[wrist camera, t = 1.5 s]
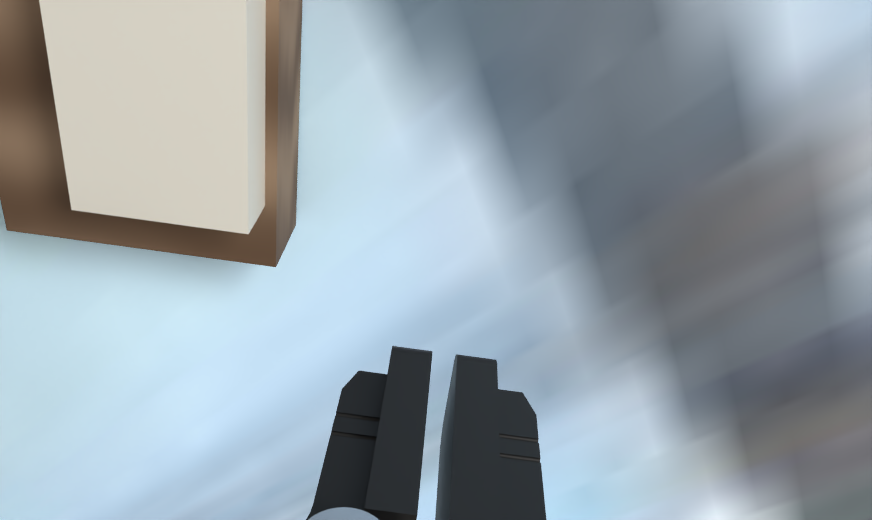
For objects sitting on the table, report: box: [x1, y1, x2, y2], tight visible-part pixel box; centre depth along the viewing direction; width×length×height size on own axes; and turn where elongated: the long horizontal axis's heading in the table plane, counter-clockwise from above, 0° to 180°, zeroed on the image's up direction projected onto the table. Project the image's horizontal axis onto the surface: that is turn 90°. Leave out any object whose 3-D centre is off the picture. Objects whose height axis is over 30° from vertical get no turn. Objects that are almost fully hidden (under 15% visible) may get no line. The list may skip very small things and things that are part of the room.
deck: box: [0, 0, 302, 267], centre depth 29 cm, size 16×12×4 cm
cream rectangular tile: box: [39, 0, 266, 234], centre depth 27 cm, size 10×7×2 cm
